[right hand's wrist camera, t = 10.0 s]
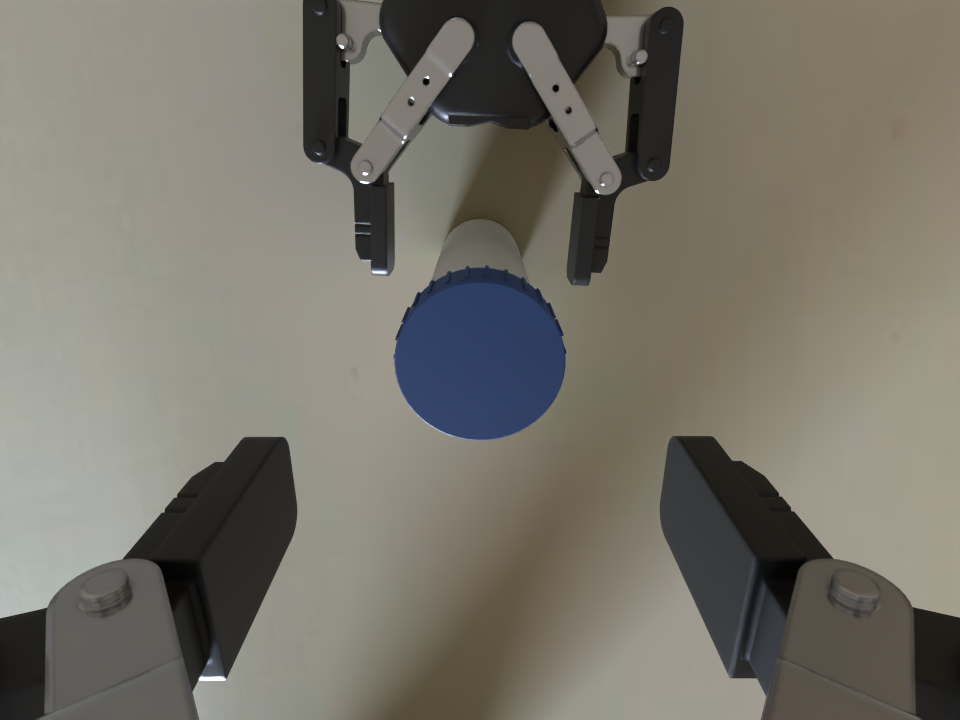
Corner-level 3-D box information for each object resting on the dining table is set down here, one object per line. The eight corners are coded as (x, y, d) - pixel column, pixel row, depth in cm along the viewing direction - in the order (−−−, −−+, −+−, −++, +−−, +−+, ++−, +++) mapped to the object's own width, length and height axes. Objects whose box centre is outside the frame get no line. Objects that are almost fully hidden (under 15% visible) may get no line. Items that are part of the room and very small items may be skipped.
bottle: (441, 295, 33) (410, 421, 18) (441, 217, 31) (407, 289, 17) (516, 297, 33) (546, 425, 18) (520, 219, 31) (556, 292, 17)
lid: (401, 413, 20) (394, 441, 18) (398, 261, 18) (388, 276, 16) (553, 416, 20) (560, 445, 18) (565, 266, 18) (575, 281, 16)
